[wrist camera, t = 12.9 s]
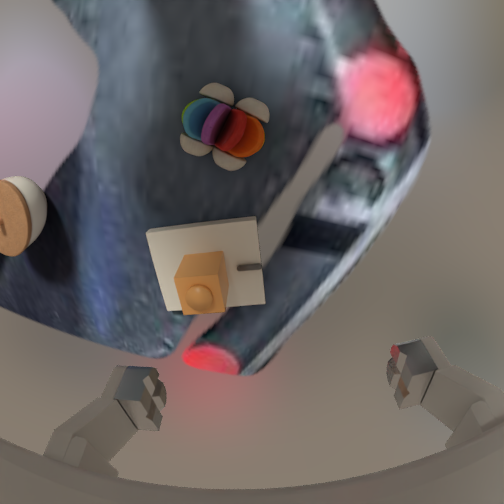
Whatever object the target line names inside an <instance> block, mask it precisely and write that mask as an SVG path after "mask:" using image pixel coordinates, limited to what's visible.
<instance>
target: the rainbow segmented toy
mask: <svg viewBox="0 0 504 504" xmlns="http://www.w3.org/2000/svg"><path fill="white" fill-rule="evenodd" d="M199 93H200V94H201V95H204V96H206V97H208V98H201V99H197V100H194V101H192V102H190V103H189V104H188V105H187V106H186V107H185V108H184V110H183V112H182V123H183V127H184V130H185V132H186V133H181V135H180V143H181V146H182V148H183V150H184V151H186V152H187V153H189V154H192V155H195V156H203V155H206V154H208V153H209V152H210V151H211V150H212V151H213V159H214V161H215V163H216V164H217V165H218V166H220V167H222V168H224V169H226V170H229V171H234V170H238V169H240V168H241V167H243V166H244V165H245V163H246V160H245V159H244V158H243V157H248V156H251V155H253V154H254V153H256V152H258V151H259V150H260V149H261V148H262V146H263V144H264V141H265V133H264V129H263V127H262V125H261V123H260V122H259V121H258V120H261V121H263V122H265V123H268V121H269V116H270V114H269V110H268V107H267V106H266V105H265V104H264V103H262V102H260V101H258V100H256V99H254V98H245V99H242V100H240V101H239V102H238V103H237V104H236V105H235V108H237V109H231V108H230V107H229V106H233V105H234V95H233V93H232V91H231V89H229V88H228V87H226V86H224V85H221V84H218V83H210V84H208V85H206V86H204V87H203V88H202V89H201V90H200V92H199ZM214 145H215V146H214Z"/></svg>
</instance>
